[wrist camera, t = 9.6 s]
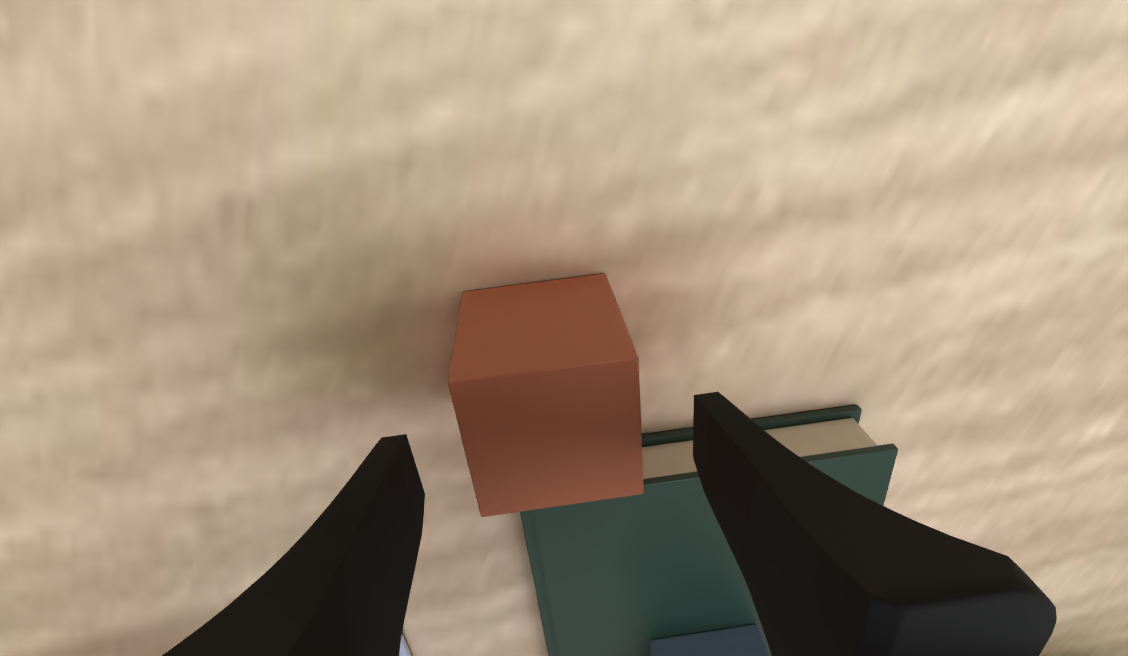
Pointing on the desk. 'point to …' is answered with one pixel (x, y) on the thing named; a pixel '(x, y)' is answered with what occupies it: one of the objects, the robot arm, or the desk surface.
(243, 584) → the desk surface
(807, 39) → the desk surface
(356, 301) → the desk surface
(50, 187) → the desk surface
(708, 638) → the slate block
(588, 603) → the book
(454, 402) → the terracotta block
